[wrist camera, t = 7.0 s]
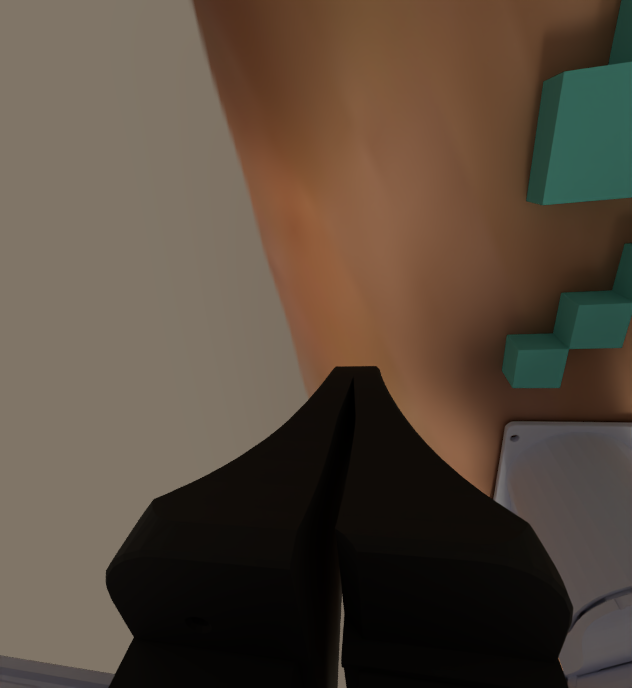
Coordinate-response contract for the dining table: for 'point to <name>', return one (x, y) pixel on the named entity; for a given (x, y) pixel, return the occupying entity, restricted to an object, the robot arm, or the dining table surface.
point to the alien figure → (580, 186)
